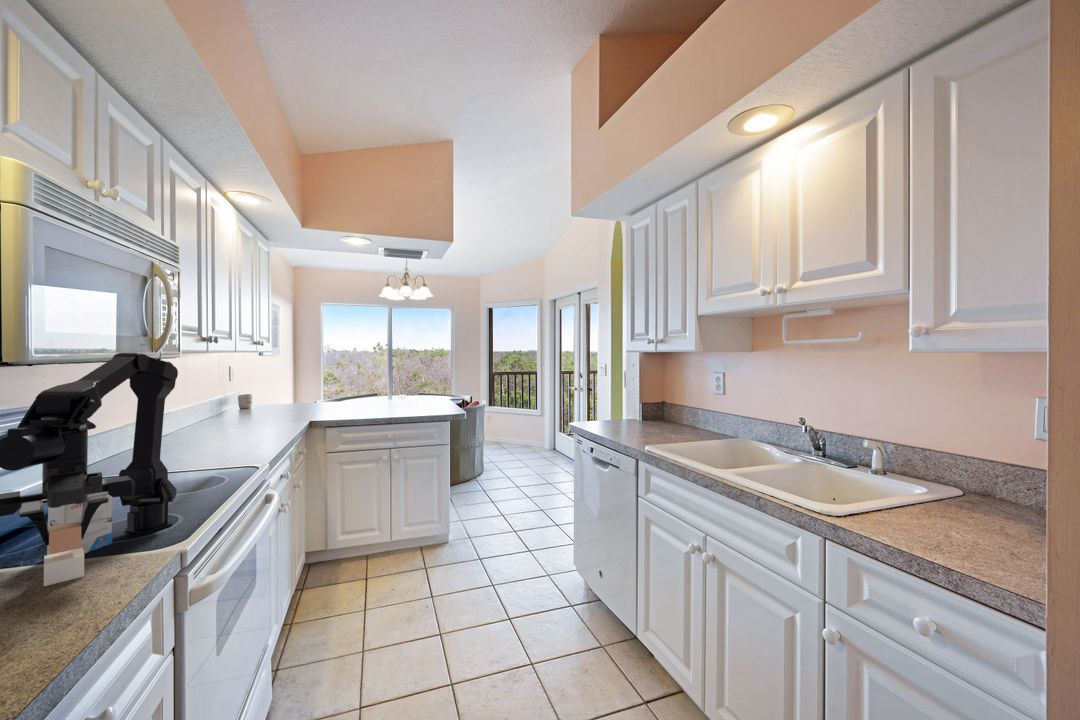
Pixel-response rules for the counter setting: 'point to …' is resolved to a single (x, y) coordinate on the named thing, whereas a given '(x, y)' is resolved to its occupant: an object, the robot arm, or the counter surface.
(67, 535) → the terracotta cube
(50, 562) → the off-white block
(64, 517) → the ink box
